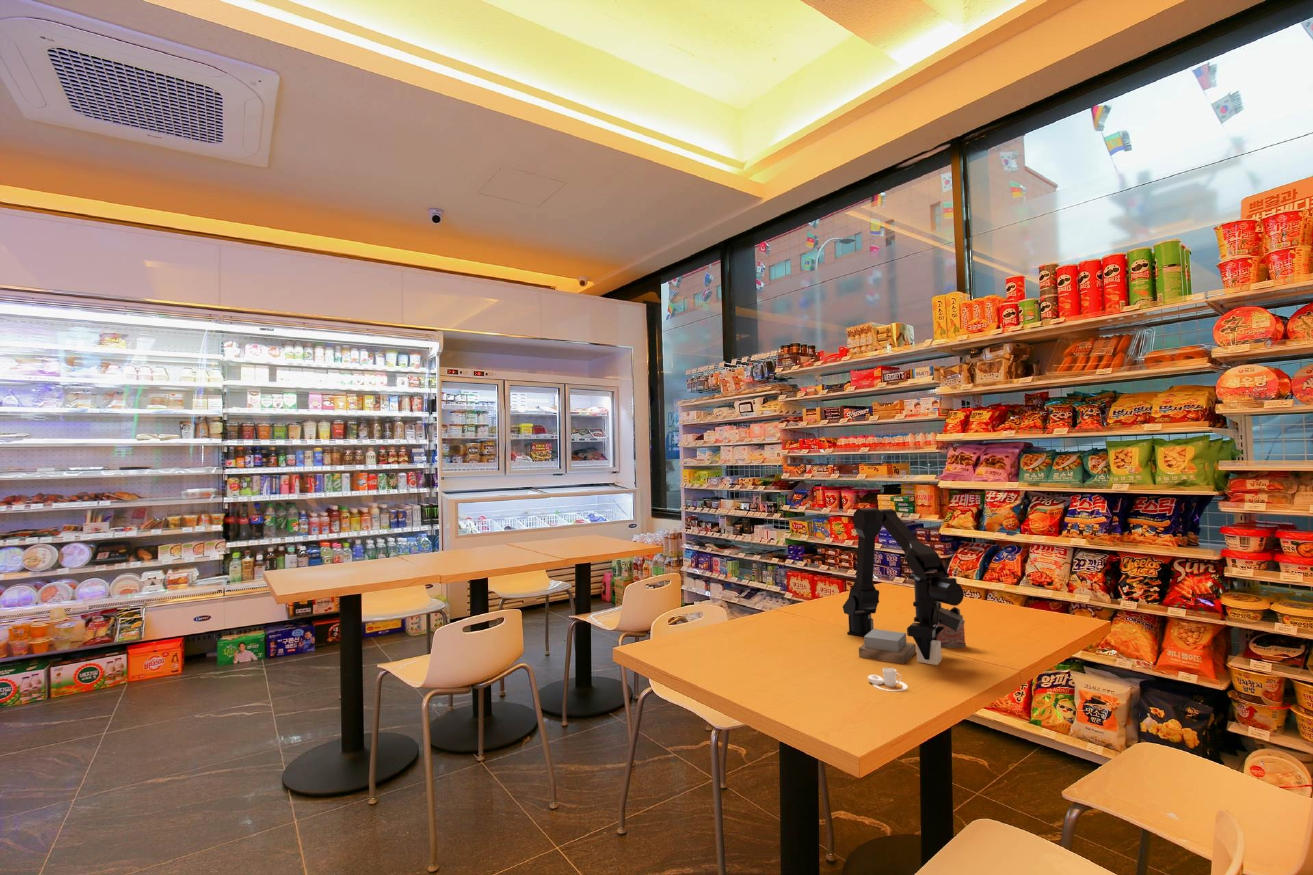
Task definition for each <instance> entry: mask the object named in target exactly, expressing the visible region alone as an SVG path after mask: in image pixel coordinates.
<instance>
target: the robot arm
mask: <svg viewBox="0 0 1313 875" xmlns="http://www.w3.org/2000/svg"><path fill="white" fill-rule="evenodd" d="M852 520H853V521H852V522H853V529H854V531H855V532H856V535H857V537H858V538H857V540H858V542H857V556H856V570H855V573H856V574H855V581H854V582H853V584H852V586H851V587H850V588H849V594H848V598H847V599H846V601H845V603H844V604H843V605H842V609H843V613H844V614H845V615H848V631H847V632H846V633H847V635H852V636H859V637H864V636H865V635H867V634H868V633H869V632H870V631H871V630H873V629H875V628H874V619H873V618H872V614H876V612H877V608H878V604H880V599H879V598H880V590H878V589H876V587H875V585H874V570H875V568H874V567H875V552H876V551H875V550H876V539H877V537H878V535H879V534H880V532H881V531H882V528H884V529H885V530H886V531H887V532H888V533H889V535H890V536H891V537H892V539H893V540H894V541H895V542H896V544H897V545H898V546H899V547H900V548H901V550H902V551H903V553H904V560H905V562H906V563H907V565H908V567H909V569H910V570H911V571H912V573H911V574H910V575H908V577H907V578H908V579H909V580H913V585H914V587H913V588H914V589H913V590H914V601H913V602H912V605H913V607H914V608H915V616H914V617H913V622H912V623H910V625H909V626H907V628H906V637H907V636H908V637H912V639H913V640H914V642H915V645H916V644H917V645H918V647H919V649H920V651H921V653H922V655H923V657H924V659H925V660H929V658H930V650H931V642H932V640H937V637H938V634H939V633H940V632H941V631H942V630H943V629H944V628H945V627H942V626H939V624H938V623H941V624H943V625H945V626H947V627H949V628H951V629H952V630H955V631H957V630H958V629H959V627H960V625H961V622H962V620H963V619H964V616H963V615H962V614H961V610H960V608H958V607H955V606H959V605H960V604H961V603H962V602H963V599H964V596H965V595H964V594H965V592H964V590H963V588H962V585H960V584H959V583H957V581H958V580H957V578H955V577H950V574H949V572H948V570H947V568H946V567H945V565H944V564H943V562H942V560H941V557H940V555H939V553H938V552H936V550H934V549H933V548H932V547H931V546H929V545H928V544H925V543H923V542H922V541H920V540H919V539H918V538H917V537H916V536H915V535H914V534H913V532H912V530H910V529H909V528H908V527H907V525H906V524H905V523H904V521H902V519H901V517H899V516H898V513H897V511H896V510H895V509H893V508H886V509H885V508H882V509H879V508H877V507H869V508H868V507H867V508H858V509H856V510H855V511H854V512H853V516H852ZM942 604H945V605H950V606H953V607H952V608H950V609H949V608H944V607H942ZM917 645H916V646H917Z"/></svg>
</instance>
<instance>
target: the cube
mask: <svg viewBox="0 0 1313 875" xmlns="http://www.w3.org/2000/svg"><path fill="white" fill-rule="evenodd" d="M915 645H916V660H917V663H922V664H929V665H935V666H938V665H939V664H940V663H941V661H942V647H941V641H937V640H932V642H931V650H930V658H929V660H925V659H924V657H923V655H922V653H921V651H920V649H919V647H918V645H917V644H916V643H915Z"/></svg>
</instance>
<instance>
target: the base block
mask: <svg viewBox="0 0 1313 875" xmlns="http://www.w3.org/2000/svg"><path fill="white" fill-rule="evenodd" d="M915 654H917V645H916V642H915V643H914V642H907V641H906V645H905V646H904V647H903V648H902V649H901V650H900V651H899V652H892V651H885V650H878V649H871V648H865V645H864V643H863V644H862V645H861V646H859V648H858V658H863V659H868V660H869V659H870V660H876V661H881V662H888V663H895V664H902V665H905V664H907V662H908V661H909V660H910V659H911V658H912V657H913V656H914V655H915Z"/></svg>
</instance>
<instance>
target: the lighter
mask: <svg viewBox="0 0 1313 875" xmlns="http://www.w3.org/2000/svg"><path fill="white" fill-rule="evenodd" d="M938 624H939V626H942V627H945V628H944V629H943V630H942V631H941V632H940V633H939V634H938V637H937V641H941V648H947V649H948V648H954V649H956V648H958V649H959V648H966V646H967V645H966V644H967V643H966V637H965V619H964V618H963V620H962V622H961V625H960V627H959V629H958V630H957V631H955V630H952V629H951V628H949V627H947V626H945V625H943V624H941V623H938Z"/></svg>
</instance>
